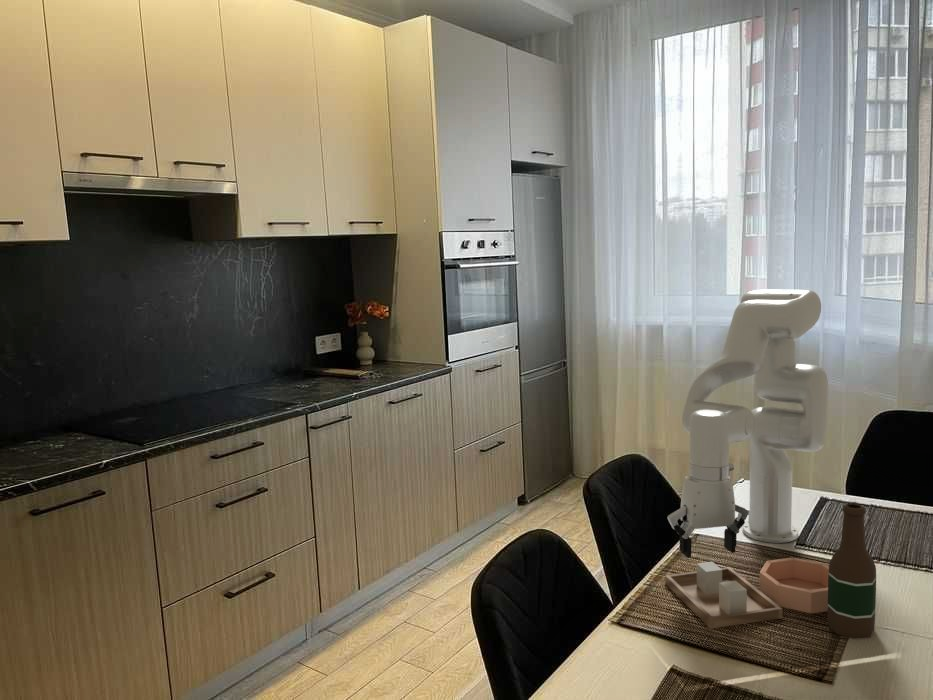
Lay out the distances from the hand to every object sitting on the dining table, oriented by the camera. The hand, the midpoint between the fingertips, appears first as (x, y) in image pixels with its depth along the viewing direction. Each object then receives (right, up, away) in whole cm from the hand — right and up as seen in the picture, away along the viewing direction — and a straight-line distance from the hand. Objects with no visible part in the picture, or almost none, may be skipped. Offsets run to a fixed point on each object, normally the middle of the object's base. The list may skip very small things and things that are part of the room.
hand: (707, 552), depth 147 cm
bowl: (+18, -8, -2) cm, 20 cm away
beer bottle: (+21, -10, -15) cm, 28 cm away
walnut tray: (+2, -9, -3) cm, 10 cm away
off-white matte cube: (+1, -8, +2) cm, 8 cm away
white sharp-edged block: (+2, -9, -7) cm, 12 cm away
